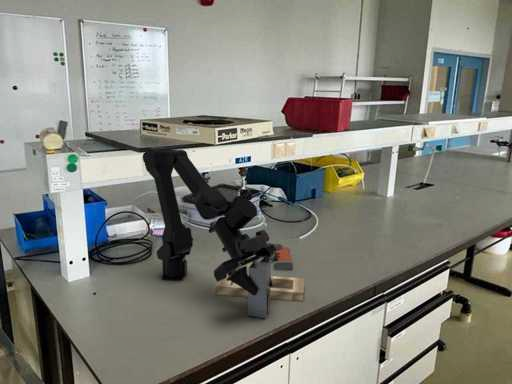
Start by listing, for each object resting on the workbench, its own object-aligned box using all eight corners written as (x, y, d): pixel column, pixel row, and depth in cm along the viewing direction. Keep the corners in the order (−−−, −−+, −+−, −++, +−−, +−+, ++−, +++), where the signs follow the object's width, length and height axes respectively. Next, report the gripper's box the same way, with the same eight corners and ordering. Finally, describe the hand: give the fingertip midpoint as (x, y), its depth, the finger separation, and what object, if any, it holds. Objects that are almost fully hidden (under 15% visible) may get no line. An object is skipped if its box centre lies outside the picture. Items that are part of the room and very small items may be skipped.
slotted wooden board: (216, 294, 118) (216, 285, 118) (222, 280, 127) (222, 271, 126) (303, 301, 115) (303, 292, 115) (303, 286, 124) (304, 277, 123)
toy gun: (293, 272, 135) (292, 249, 149) (291, 257, 133) (290, 236, 147) (238, 276, 137) (242, 253, 151) (235, 261, 135) (240, 240, 149)
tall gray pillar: (247, 315, 107) (248, 267, 104) (252, 307, 111) (254, 260, 108) (264, 318, 106) (266, 270, 103) (269, 309, 110) (270, 263, 107)
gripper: (222, 230, 98) (257, 289, 94) (272, 213, 112) (305, 264, 108) (199, 253, 105) (231, 309, 101) (249, 235, 119) (279, 283, 115)
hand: (263, 290), depth 106 cm, fingers closed on tall gray pillar, 6 cm apart
